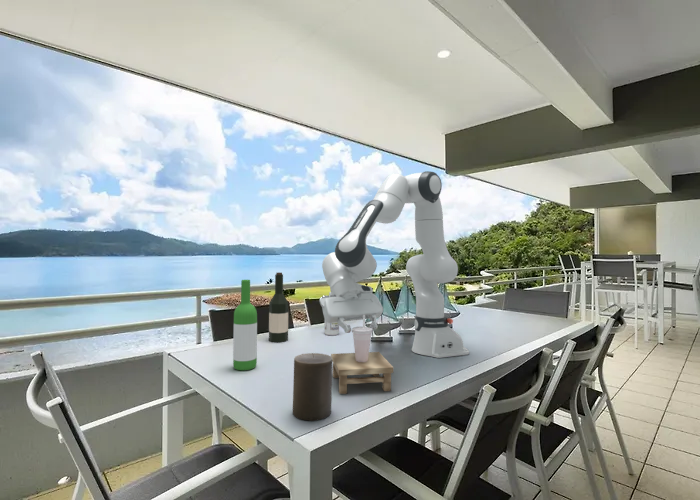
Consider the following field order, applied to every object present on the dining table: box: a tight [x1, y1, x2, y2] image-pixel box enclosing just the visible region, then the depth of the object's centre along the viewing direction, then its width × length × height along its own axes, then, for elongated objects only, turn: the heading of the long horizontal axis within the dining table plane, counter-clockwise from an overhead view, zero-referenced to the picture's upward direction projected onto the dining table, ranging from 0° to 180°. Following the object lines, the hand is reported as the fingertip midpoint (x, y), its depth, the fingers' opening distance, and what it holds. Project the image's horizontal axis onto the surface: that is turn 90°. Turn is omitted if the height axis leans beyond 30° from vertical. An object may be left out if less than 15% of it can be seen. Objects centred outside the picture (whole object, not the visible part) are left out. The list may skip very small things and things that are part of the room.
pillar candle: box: [292, 352, 333, 422], centre depth 94 cm, size 10×10×15 cm
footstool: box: [330, 351, 394, 395], centre depth 114 cm, size 16×16×7 cm
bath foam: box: [324, 291, 340, 336], centre depth 178 cm, size 7×7×20 cm
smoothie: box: [351, 315, 373, 362], centre depth 114 cm, size 6×6×14 cm
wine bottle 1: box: [232, 279, 258, 371], centre depth 127 cm, size 8×8×30 cm
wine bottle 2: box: [268, 272, 289, 344], centre depth 164 cm, size 8×8×30 cm
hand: (362, 330), depth 113 cm, fingers open, 8 cm apart
